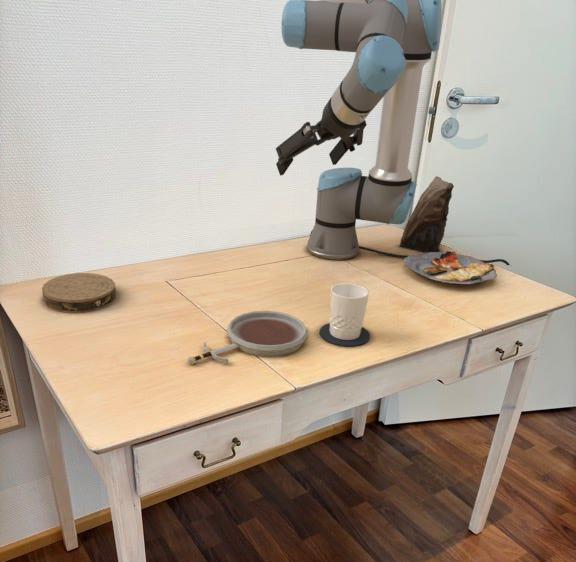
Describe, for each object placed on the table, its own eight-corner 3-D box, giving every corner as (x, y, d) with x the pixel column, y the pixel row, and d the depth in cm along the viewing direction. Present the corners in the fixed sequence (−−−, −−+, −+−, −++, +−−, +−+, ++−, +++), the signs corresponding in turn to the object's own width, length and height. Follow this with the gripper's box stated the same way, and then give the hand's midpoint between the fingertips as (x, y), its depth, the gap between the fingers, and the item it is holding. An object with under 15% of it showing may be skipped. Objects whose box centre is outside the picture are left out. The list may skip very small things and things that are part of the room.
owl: (419, 238, 186) (431, 173, 176) (454, 248, 179) (468, 182, 169) (397, 246, 178) (408, 179, 168) (432, 257, 171) (446, 188, 161)
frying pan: (164, 337, 115) (273, 302, 131) (165, 350, 117) (272, 313, 133) (213, 373, 105) (325, 330, 120) (213, 387, 106) (324, 343, 122)
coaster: (360, 322, 132) (360, 320, 131) (377, 345, 123) (377, 343, 122) (313, 324, 129) (313, 323, 129) (327, 348, 120) (327, 346, 120)
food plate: (449, 254, 175) (451, 242, 173) (512, 280, 159) (515, 268, 157) (387, 266, 163) (389, 254, 161) (448, 297, 147) (451, 284, 145)
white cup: (358, 344, 122) (364, 300, 116) (322, 337, 123) (326, 294, 118) (366, 329, 128) (372, 287, 123) (332, 322, 130) (336, 280, 125)
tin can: (112, 282, 143) (111, 270, 142) (119, 308, 131) (118, 296, 129) (43, 287, 138) (41, 275, 136) (44, 316, 126) (42, 303, 124)
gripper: (297, 137, 105) (262, 190, 125) (407, 117, 114) (358, 170, 134) (283, 98, 105) (250, 157, 125) (394, 82, 114) (347, 140, 134)
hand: (306, 164), depth 129 cm, fingers open, 13 cm apart
